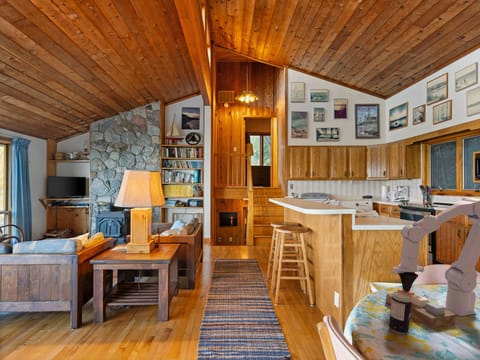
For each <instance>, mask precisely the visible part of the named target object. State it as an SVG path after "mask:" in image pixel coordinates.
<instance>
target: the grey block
mask: <svg viewBox="0 0 480 360" xmlns="http://www.w3.org/2000/svg"><path fill="white" fill-rule="evenodd" d="M429 302H430V303H426V308H425V310H426V311H428V312H430V313H432V314H434V315H436V316H438V315H444V310H445V307H443V306H441V305H442V304H439V303H437V302H434V301H429Z"/></svg>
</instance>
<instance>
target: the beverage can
mask: <svg viewBox="0 0 480 360" xmlns="http://www.w3.org/2000/svg"><path fill="white" fill-rule="evenodd" d="M393 293H394V294H393V295H392V300H391V305H390V313H389V321H388V326H389V328H390V329H391V331H392V332H393V333H395V334H398V335H405V334H406V333H408V332H409V330H410V319H411V317H410V312H411V303H412V301H411V297H410V296H409V295H408V294H405V293H402V292H398V291H394V292H393Z"/></svg>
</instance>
